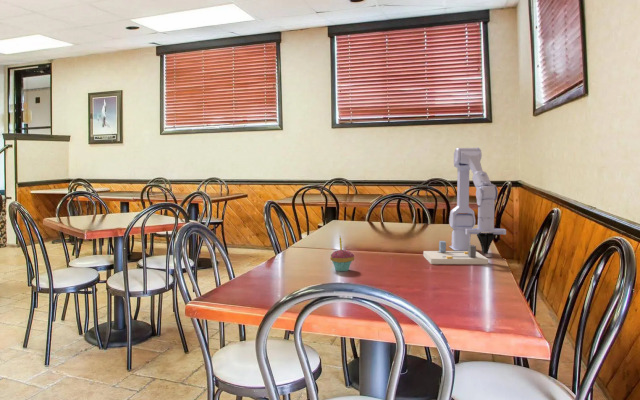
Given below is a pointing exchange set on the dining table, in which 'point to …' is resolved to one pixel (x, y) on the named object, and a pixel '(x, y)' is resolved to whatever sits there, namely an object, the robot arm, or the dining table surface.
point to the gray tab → (471, 250)
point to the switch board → (454, 257)
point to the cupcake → (342, 259)
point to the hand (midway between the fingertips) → (485, 253)
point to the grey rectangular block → (442, 246)
